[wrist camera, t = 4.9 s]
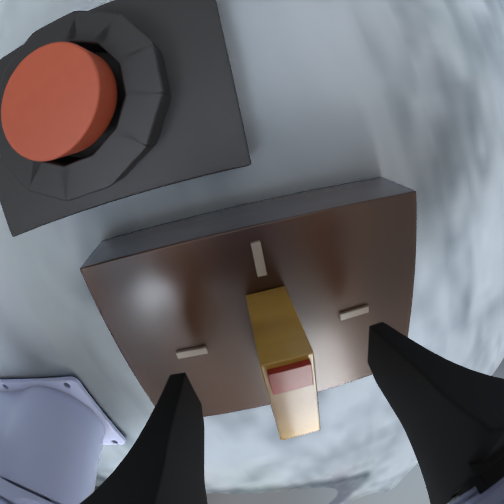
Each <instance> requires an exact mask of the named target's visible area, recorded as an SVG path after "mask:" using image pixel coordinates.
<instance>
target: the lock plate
mask: <svg viewBox="0 0 504 504" xmlns="http://www.w3.org/2000/svg"><path fill="white" fill-rule="evenodd" d="M416 224H417V207H416V191H414V190H412V189H410V188H407V187H405V186H402V185H400V184H397V183H395V182H393V181H390V180H388V179H385V178H382V177H381V178H375V179H369V180H364V181H358V182H353V183H347V184H342V185H337V186H331V187H326V188H321V189H316V190H311V191H306V192H301V193H296V194H292V195H287V196H282V197H277V198H273V199H268V200H263V201H259V202H254V203H250V204H246V205H241V206H237V207H232V208H228V209H224V210H220V211H215V212H211V213H207V214H203V215H199V216H195V217H191V218H187V219H183V220H179V221H175V222H171V223H167V224H163V225H159V226H156V227H152V228H148V229H144V230H141V231H137V232H133V233H130V234H126V235H122V236H119V237H115V238H112V239H108V240H105V241H102V242H101V243H100V244H99V245H98V247H97V248H96V249H95V250H94V252H93V253H92V254H91V255H90V257H89V258H88V259H87V260H86V262H85V263H84V264H83V265H82V267H81V268H80V270H81V273H82V275H83V277H84V280H85V282H86V284H87V286H88V288H89V291H90V293H91V295H92V297H93V299H94V301H95V303H96V305H97V307H98V309H99V311H100V313H101V315H102V317H103V319H104V321H105V323H106V325H107V327H108V329H109V331H110V333H111V335H112V337H113V338H114V340H115V342H116V344H117V346H118V347H119V349H120V351H121V353H122V355H123V356H124V358H125V360H126V361H127V363H128V365H129V367H130V368H131V370H132V372H133V373H134V375H135V376H136V378H137V380H138V381H139V383H140V385H141V386H142V388H143V389H144V391H145V392H146V394H147V395H148V397H149V398H150V400H151V401H152V403H153V404H154V406H156V404H157V402H158V400H159V397H160V395H161V393H162V391H163V389H164V387H165V384H166V382H167V380H168V378H169V376H170V375H172V374H178V373H184V372H185V373H186V375H187V377H188V379H189V381H190V383H191V385H192V387H193V389H194V391H195V392H196V394H197V396H198V398H199V400H200V402H201V404H202V411H203V417H206V416H212V415H218V414H224V413H230V412H235V411H241V410H246V409H251V408H255V407H260V406H265V405H269V404H270V400H269V396H268V393H267V389H266V386H265V382H264V378H263V375H262V371H261V367H260V363H259V358H258V354H257V349H256V344H255V339H254V334H253V330H252V325H251V320H250V315H249V310H248V305H247V301H246V295H249V294H253V293H258V292H262V291H266V290H270V289H274V288H278V287H282V286H285V287H286V290H287V292H288V294H289V296H290V299H291V301H292V303H293V306H294V308H295V310H296V313H297V315H298V317H299V319H300V322H301V324H302V326H303V329H304V331H305V333H306V336H307V338H308V340H309V343H310V345H311V347H312V350H313V352H314V361H315V371H316V382H317V392H319V391H323V390H326V389H330V388H333V387H336V386H339V385H342V384H345V383H349V382H352V381H355V380H357V379H360V378H363V377H366V376H369V375H372V372H371V369H370V367H369V365H368V363H367V360H368V343H369V326H371V325H374V324H377V323H380V322H384V323H386V324H388V325H389V326H391V327H392V328H394V329H395V330H397V331H398V332H400V333H401V334H403V335H405V336H406V337H408V331H409V323H410V315H411V307H412V297H413V286H414V274H415V257H416Z"/></svg>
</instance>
